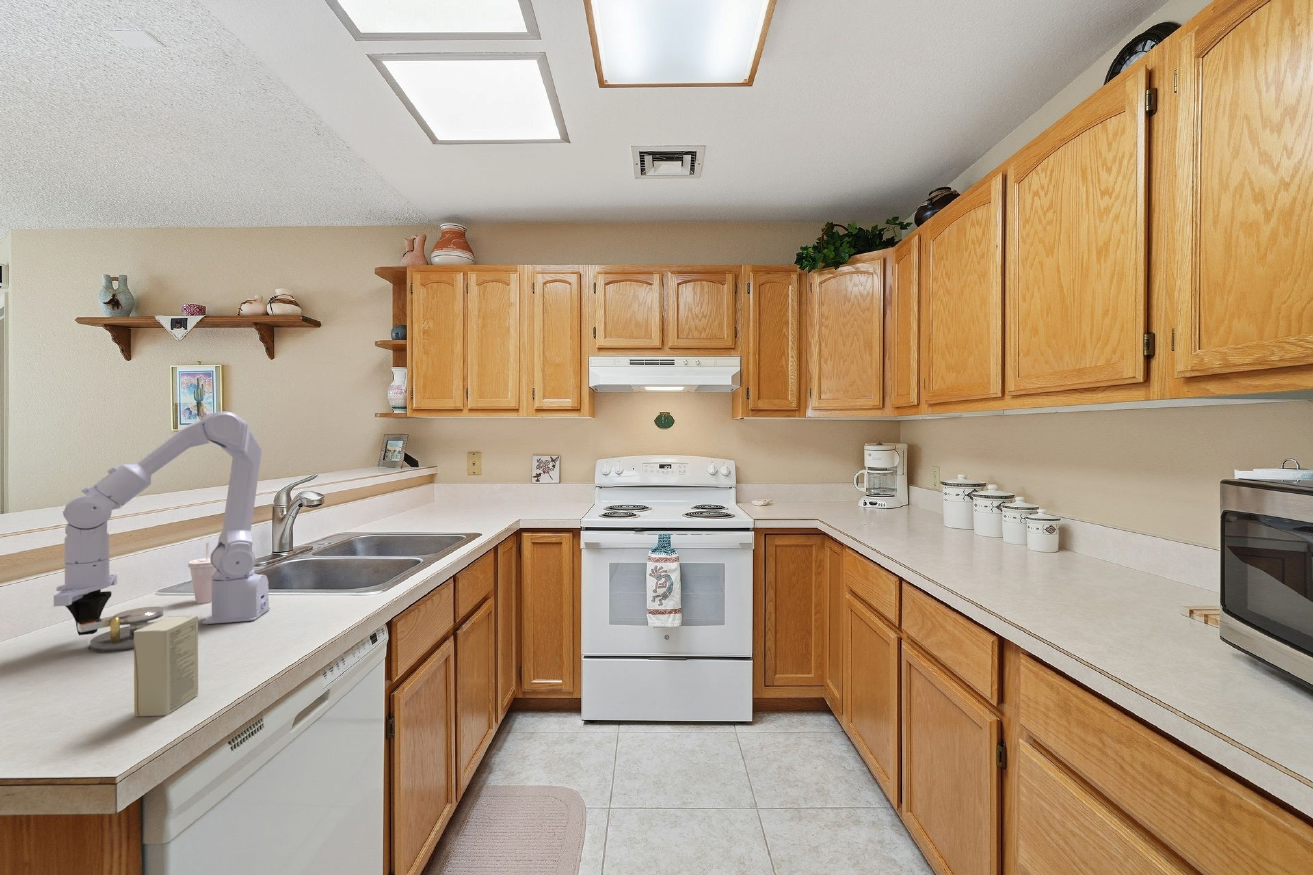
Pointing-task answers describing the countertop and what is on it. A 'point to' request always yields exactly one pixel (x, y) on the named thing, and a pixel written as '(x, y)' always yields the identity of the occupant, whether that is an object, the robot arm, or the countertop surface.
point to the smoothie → (202, 577)
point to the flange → (123, 618)
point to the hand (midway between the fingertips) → (87, 633)
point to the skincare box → (165, 665)
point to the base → (116, 637)
